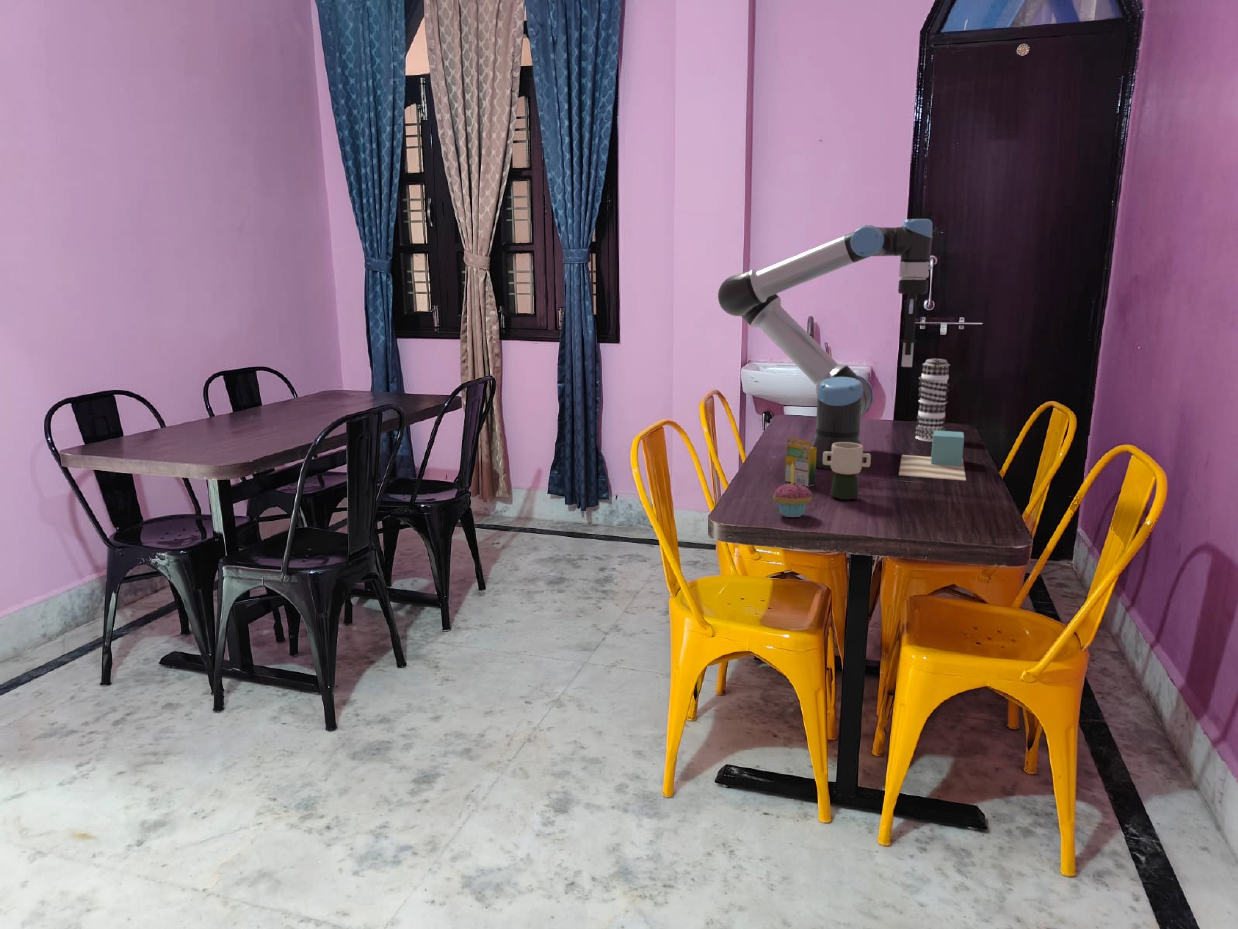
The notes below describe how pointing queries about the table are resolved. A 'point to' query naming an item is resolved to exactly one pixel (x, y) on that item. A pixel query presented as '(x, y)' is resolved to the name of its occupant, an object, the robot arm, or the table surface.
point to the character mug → (846, 468)
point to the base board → (929, 468)
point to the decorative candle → (932, 398)
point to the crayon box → (800, 462)
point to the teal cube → (947, 448)
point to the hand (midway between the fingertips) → (906, 366)
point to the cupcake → (792, 497)
